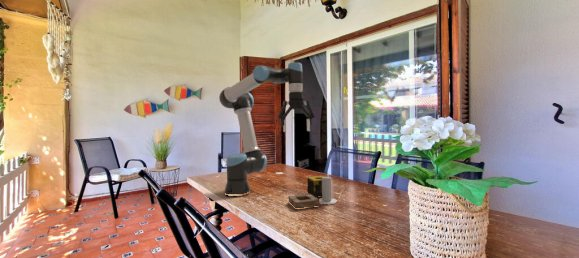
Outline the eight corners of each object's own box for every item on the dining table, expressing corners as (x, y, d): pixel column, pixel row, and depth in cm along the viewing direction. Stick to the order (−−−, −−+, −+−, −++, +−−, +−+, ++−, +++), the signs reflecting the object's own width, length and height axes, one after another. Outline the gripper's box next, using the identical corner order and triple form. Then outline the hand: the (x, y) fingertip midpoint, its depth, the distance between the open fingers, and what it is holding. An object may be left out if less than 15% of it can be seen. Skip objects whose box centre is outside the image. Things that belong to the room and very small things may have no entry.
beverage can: (325, 198, 143) (324, 176, 143) (333, 200, 140) (332, 177, 140) (320, 200, 139) (319, 177, 139) (328, 202, 136) (328, 178, 136)
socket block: (288, 202, 140) (288, 196, 140) (310, 200, 144) (310, 193, 143) (296, 210, 129) (296, 202, 128) (319, 207, 132) (319, 199, 132)
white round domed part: (314, 200, 143) (314, 199, 143) (331, 198, 146) (331, 197, 146) (322, 206, 134) (322, 204, 134) (340, 203, 137) (340, 202, 137)
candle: (307, 194, 157) (306, 176, 156) (322, 192, 160) (322, 175, 159) (313, 198, 147) (313, 180, 147) (330, 196, 150) (330, 178, 150)
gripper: (275, 91, 138) (276, 132, 139) (320, 91, 145) (320, 130, 146) (271, 92, 145) (272, 132, 146) (314, 92, 153) (315, 130, 153)
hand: (296, 131), depth 146 cm, fingers open, 13 cm apart
